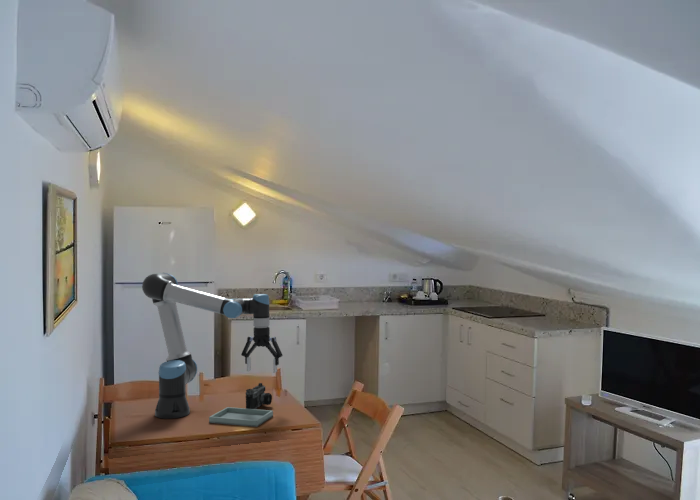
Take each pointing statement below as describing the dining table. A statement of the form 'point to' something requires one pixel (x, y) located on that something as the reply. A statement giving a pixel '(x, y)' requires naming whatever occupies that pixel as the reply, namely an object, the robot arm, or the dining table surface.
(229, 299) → the robot arm
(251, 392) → the camera
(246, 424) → the storage tray
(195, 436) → the dining table surface
